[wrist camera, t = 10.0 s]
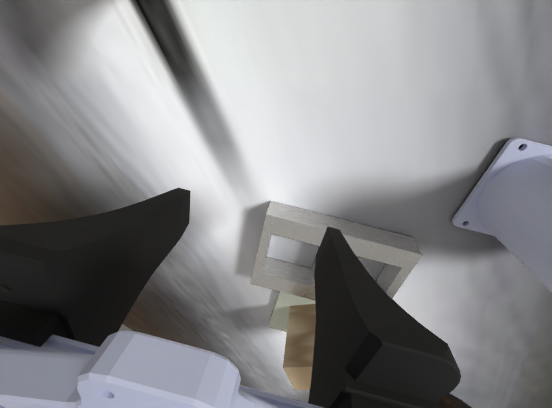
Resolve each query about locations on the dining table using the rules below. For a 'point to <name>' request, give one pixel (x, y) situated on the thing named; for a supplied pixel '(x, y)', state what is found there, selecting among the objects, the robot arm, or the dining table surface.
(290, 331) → the maple peg
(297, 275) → the white flat frame
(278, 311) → the ceramic tile
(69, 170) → the dining table surface
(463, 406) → the glass bottle
